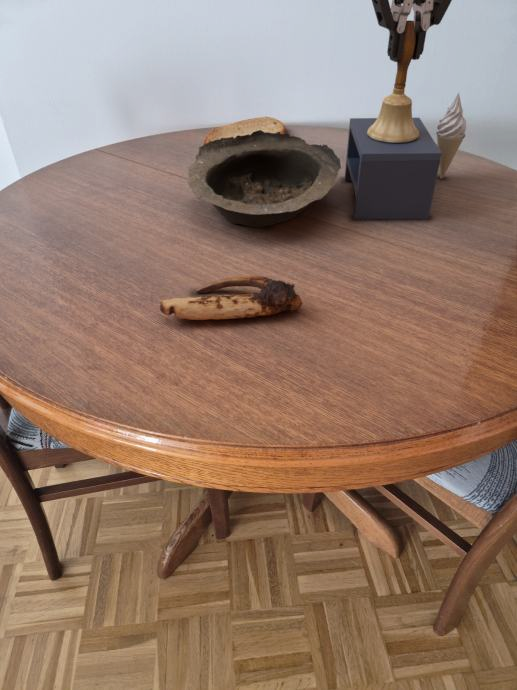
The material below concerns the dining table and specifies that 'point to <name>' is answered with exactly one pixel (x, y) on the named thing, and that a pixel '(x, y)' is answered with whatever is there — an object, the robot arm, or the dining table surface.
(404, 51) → the hand bell
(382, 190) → the shelf
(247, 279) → the lashed bone hook
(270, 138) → the stone bowl
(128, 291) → the dining table surface
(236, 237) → the dining table surface
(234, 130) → the bread slice
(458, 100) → the ice cream cone
